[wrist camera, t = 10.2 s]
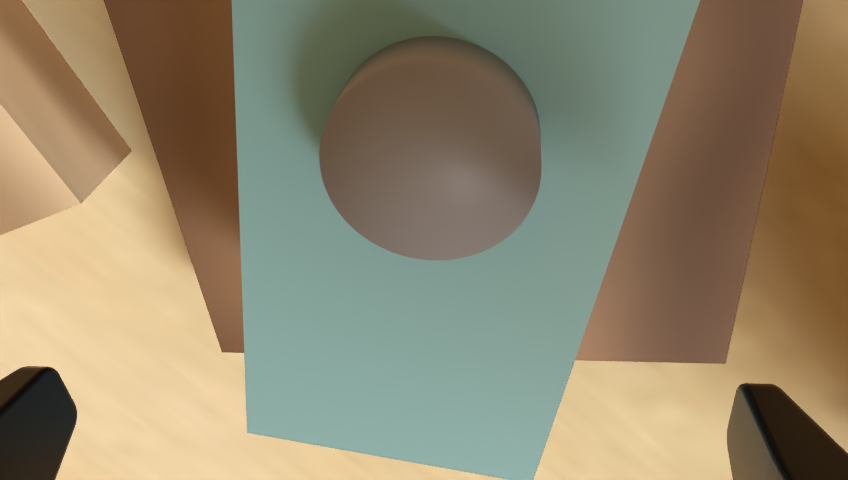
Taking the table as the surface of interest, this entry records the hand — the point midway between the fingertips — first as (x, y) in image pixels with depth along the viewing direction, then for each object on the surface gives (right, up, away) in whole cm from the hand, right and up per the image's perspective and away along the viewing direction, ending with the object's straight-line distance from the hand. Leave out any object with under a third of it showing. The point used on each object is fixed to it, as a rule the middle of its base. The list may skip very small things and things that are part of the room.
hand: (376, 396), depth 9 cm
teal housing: (+1, +4, +7) cm, 8 cm away
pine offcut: (-11, +6, +10) cm, 16 cm away
